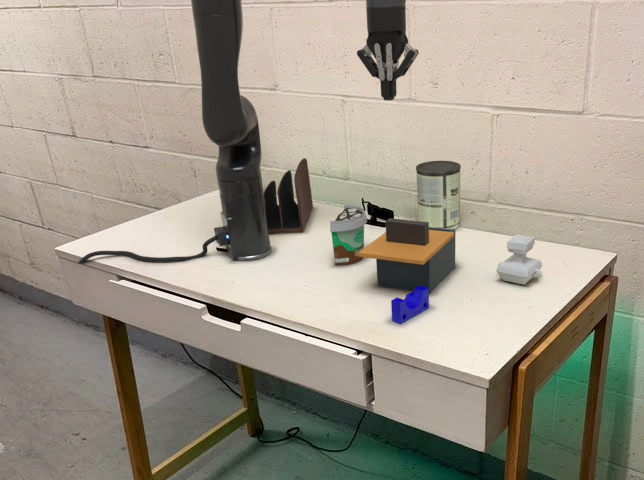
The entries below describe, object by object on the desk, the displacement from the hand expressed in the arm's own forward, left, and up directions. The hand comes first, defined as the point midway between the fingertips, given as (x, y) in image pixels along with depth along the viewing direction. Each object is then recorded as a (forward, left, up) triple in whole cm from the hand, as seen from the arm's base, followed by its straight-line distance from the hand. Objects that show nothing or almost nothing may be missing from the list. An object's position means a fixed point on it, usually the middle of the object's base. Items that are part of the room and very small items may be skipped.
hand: (389, 99), depth 141 cm
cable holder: (-13, -34, -31) cm, 48 cm away
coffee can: (+15, +7, -31) cm, 35 cm away
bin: (-4, -19, -31) cm, 36 cm away
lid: (-7, -22, -23) cm, 33 cm away
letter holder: (-15, +30, -31) cm, 46 cm away
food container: (-11, -3, -31) cm, 33 cm away
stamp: (+12, -31, -31) cm, 46 cm away
